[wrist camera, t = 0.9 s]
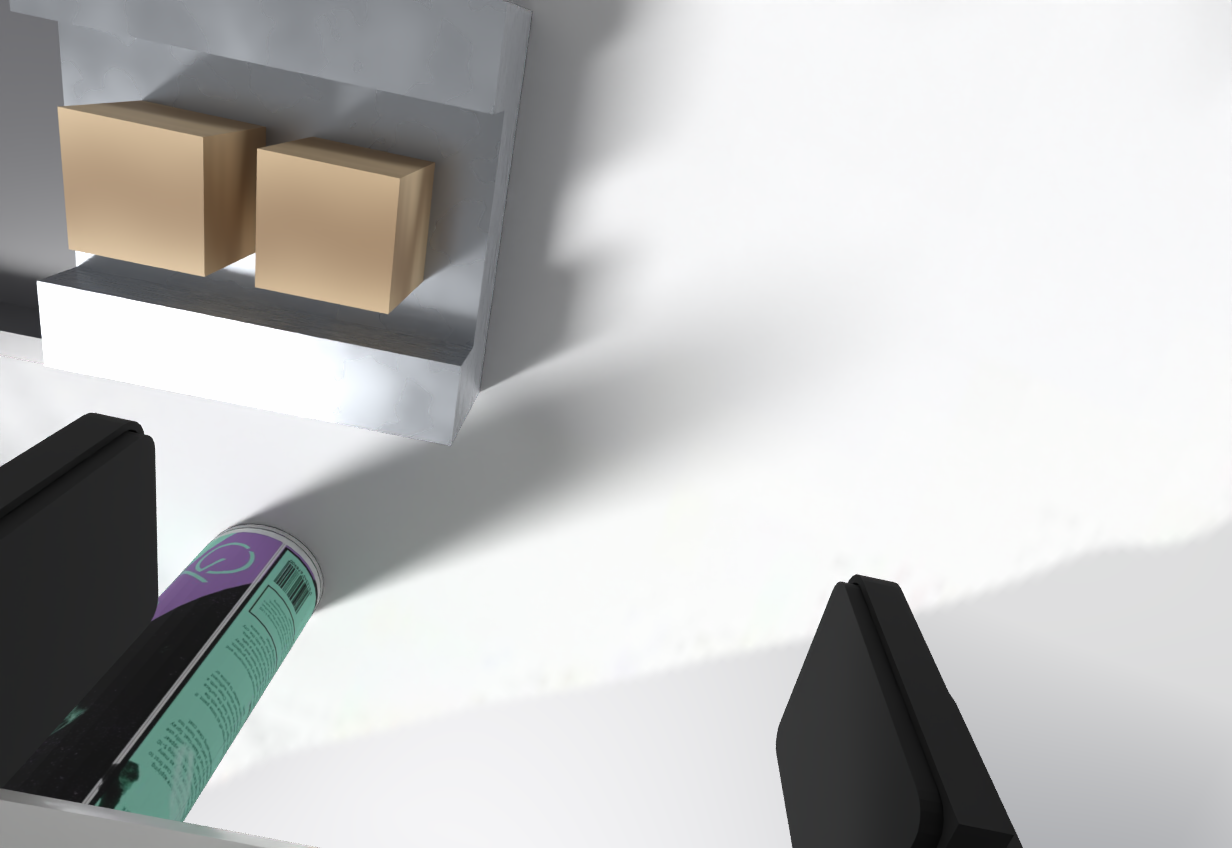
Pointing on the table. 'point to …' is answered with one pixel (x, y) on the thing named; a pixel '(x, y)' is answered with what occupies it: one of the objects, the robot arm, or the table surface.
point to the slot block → (291, 110)
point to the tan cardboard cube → (159, 184)
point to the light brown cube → (341, 222)
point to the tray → (29, 177)
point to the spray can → (183, 680)
